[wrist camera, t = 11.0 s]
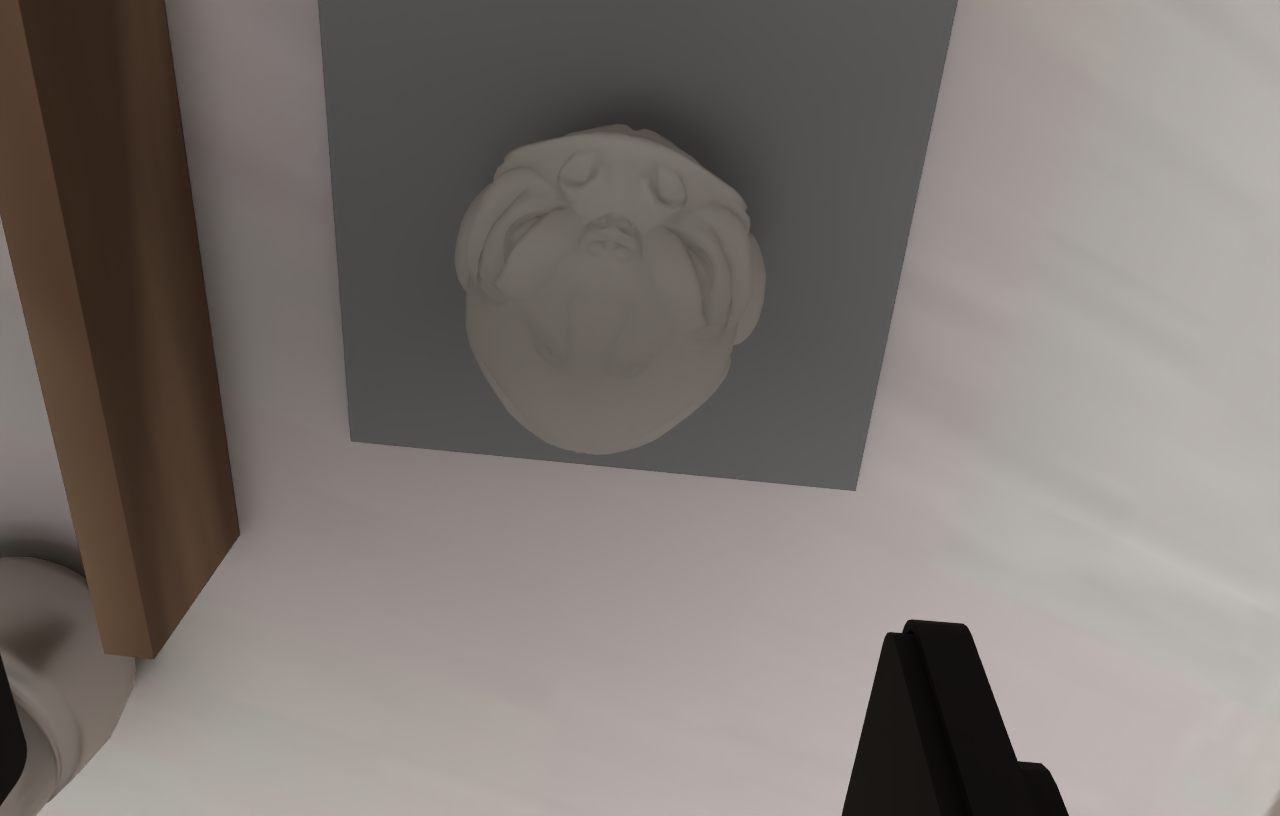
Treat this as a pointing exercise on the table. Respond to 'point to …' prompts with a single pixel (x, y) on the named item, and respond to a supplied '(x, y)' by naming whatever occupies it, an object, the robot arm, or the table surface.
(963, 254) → the table surface
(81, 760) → the plastic bottle
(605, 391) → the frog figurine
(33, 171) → the corner walls
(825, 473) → the slate mat
